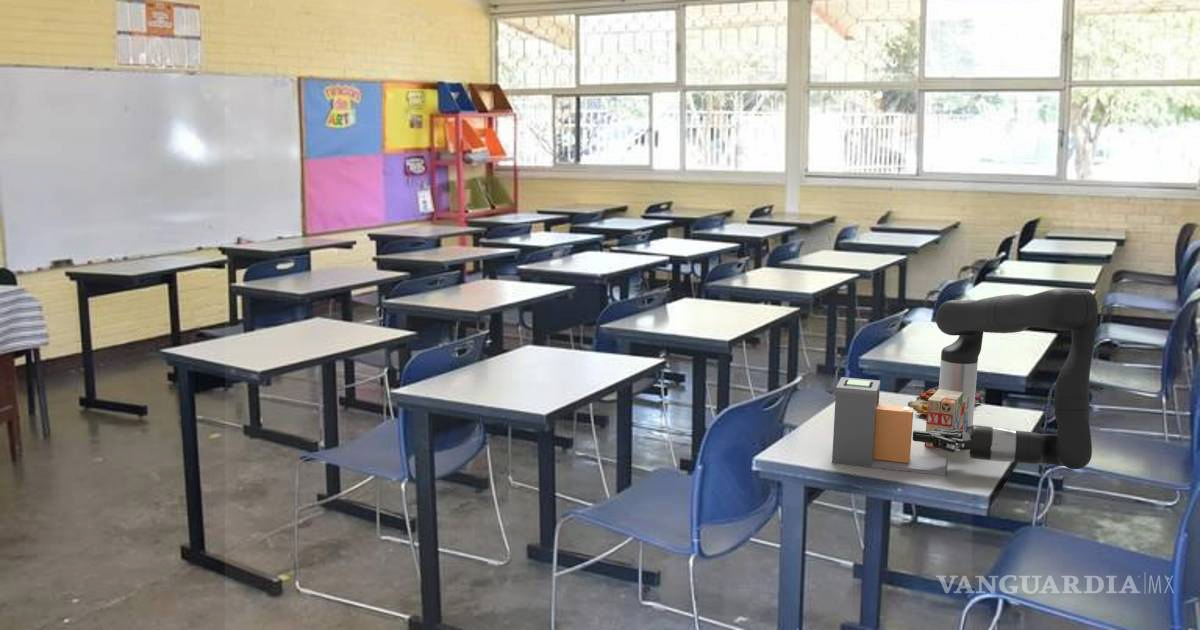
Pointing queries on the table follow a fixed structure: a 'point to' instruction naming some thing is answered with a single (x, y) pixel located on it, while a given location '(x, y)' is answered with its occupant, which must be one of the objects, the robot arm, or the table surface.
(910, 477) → the table surface
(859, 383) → the on button
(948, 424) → the stack of blocks
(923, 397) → the gear puzzle
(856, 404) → the grey tower on baseplate
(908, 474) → the table surface
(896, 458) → the orange upright cuboid
